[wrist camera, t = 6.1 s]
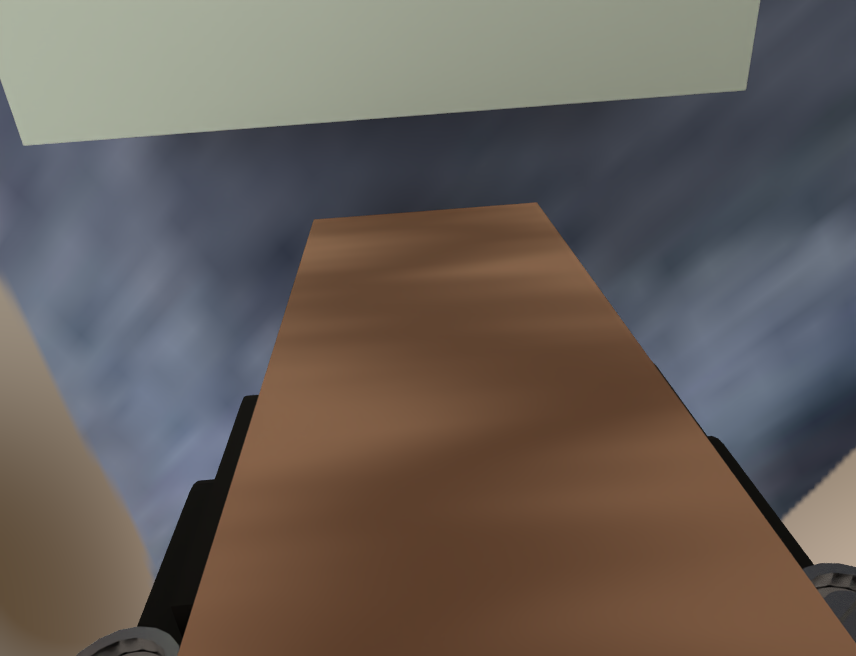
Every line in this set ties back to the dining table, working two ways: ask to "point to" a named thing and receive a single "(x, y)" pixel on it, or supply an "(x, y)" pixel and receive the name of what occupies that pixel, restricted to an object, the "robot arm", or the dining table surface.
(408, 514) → the key post
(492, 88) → the lid
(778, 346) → the dining table surface
